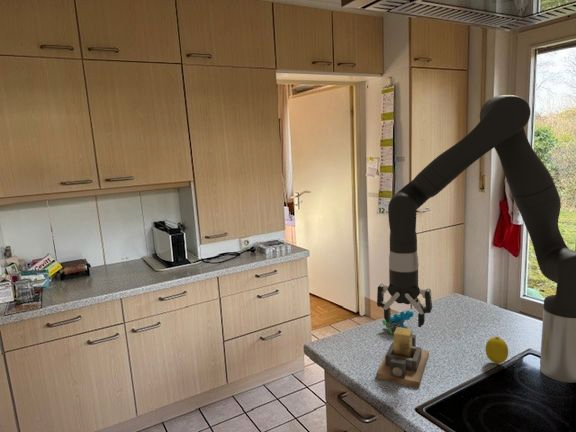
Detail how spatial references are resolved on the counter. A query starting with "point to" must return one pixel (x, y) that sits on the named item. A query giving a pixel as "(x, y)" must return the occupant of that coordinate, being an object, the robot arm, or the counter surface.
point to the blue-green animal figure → (398, 320)
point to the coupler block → (403, 342)
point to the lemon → (496, 350)
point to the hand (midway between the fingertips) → (404, 323)
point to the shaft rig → (404, 366)
